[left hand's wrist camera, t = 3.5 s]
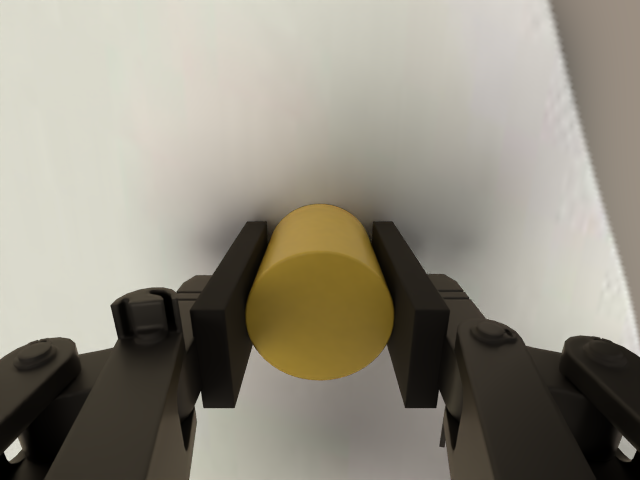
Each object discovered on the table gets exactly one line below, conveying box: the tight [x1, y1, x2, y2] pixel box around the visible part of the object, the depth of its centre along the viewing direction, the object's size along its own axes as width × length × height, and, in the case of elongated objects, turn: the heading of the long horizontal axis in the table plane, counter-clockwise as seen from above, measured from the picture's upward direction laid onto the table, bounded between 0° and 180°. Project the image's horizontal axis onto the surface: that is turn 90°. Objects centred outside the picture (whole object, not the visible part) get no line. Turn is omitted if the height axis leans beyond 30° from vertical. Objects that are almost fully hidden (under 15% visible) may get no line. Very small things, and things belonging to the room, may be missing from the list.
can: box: [245, 204, 394, 380], centre depth 12 cm, size 4×4×5 cm
